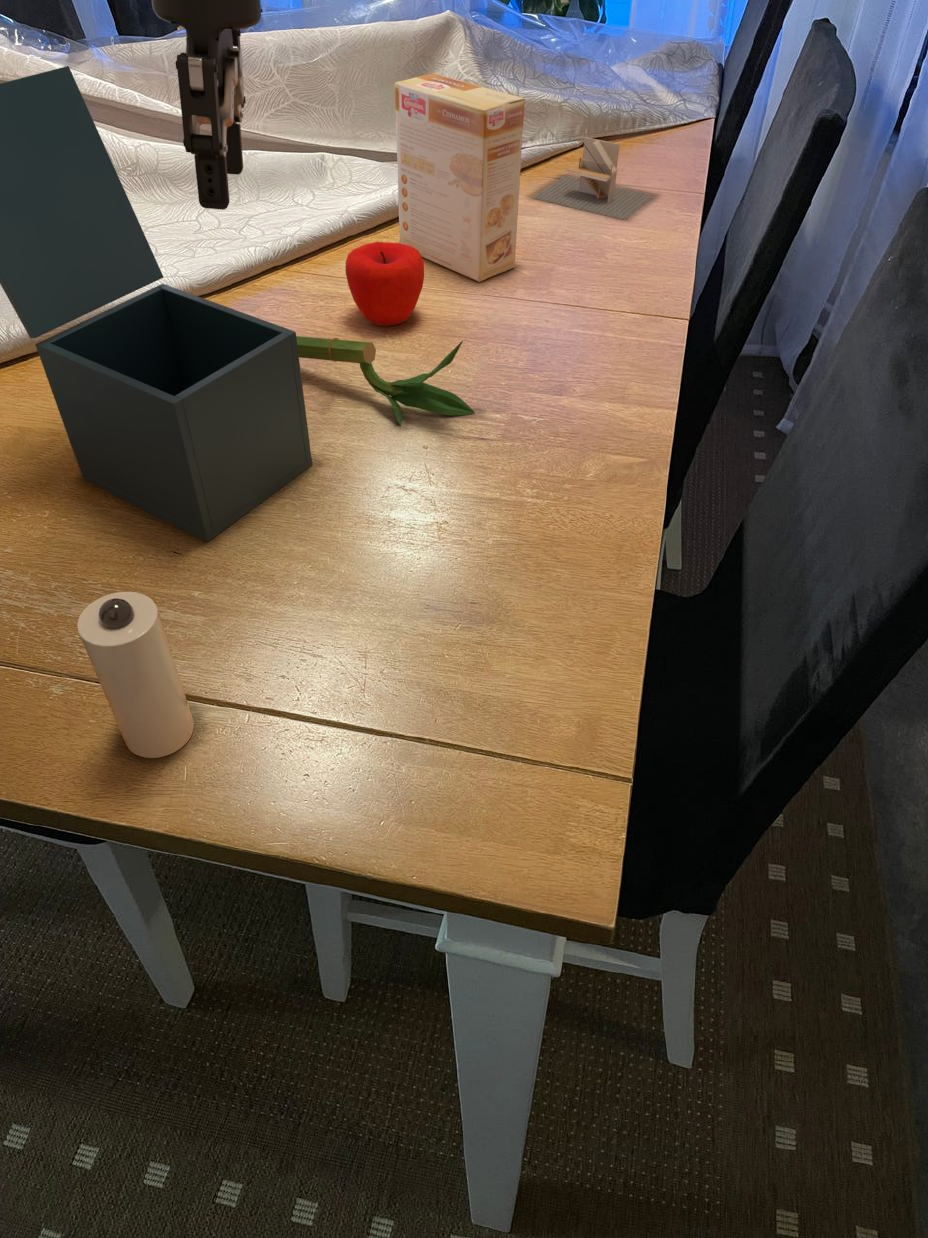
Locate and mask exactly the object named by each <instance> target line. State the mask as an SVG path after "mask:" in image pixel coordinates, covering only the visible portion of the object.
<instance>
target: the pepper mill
mask: <svg viewBox="0 0 928 1238" xmlns="http://www.w3.org/2000/svg"><path fill="white" fill-rule="evenodd" d="M159 612H160V611H159V609H158V606H157V604H156V602H155V601H154V600H153V599H152V598H150V597H149V596H147V595H146V594H143V593H141V592H137V591H118V592H117V591H116V592H112V593H109V594H106V595H103V596H101V597H98V598H97V599H95V600H93V601H92V602H91V603H89V604H88V605H87V606H86V607H85V608H84V609H83V610H82V611H81V613H80V615H79V616H78V619H77V624H76V629H77V632H78V635H79V638H80V640H81V642H82V645H83V647H84V649H85V651H86V654H87V656H88V659H89V661H90V663H91V666H92V667H93V670H94V672H95V675H96V677H97V680H98V682H99V684H100V687H101V690H102V692H103V694H104V696H105V698H106V701H107V703H108V706H109V708H110V711H111V713H112V715H113V717H114V720H115V722H116V725H117V727H118V729H119V731H120V732H119V733H120V734H121V736H122V738H123V741H124V743H125V745H126V748H127V749H128V750H129V751H130V752H131V753H133V754H134V755H136V756H138V757H140V758H146V759H158V758H164V757H166V756H170V755H172V754H174V753H176V752H177V751H179V750H180V749H182V748H183V747H184V746H185V745H186V744H187V743H188V742H189V740H190V739H191V738H192V735H193V733H194V729H195V721H194V718H193V715H192V712H191V708H190V705H189V702H188V699H187V696H186V693H185V689H184V687H183V684H182V681H181V678H180V674H179V671H178V668H177V664H176V663H175V662H176V661H175V659H174V656H173V652H172V649H171V646H170V644H169V640H168V637H167V634H166V631H165V627H164V625H163V621H162V618H161V616H160V613H159Z"/></svg>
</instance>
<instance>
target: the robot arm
mask: <svg viewBox="0 0 928 1238" xmlns="http://www.w3.org/2000/svg"><path fill="white" fill-rule="evenodd" d="M261 1H262V0H151V5H152V9H153V12H154V14H155V15H156V16H157V17H158V18H159V19H160V20H162V21H164V22H167V23H169V24H172V25H173V24H174V25H175V24H179V25H180V26H181V27H183V28H184V29H185V33H186V37H185V44H186V45H185V51H180V53H179V54H177V55H176V60H175V69H176V71H177V79H178V91H179V101H180V110H181V111H180V112H181V120H182V132H183V139H182V142H183V143H182V144H183V147H184V150H185V152H186V153H189V154H191V155H193V157H194V165H195V166H194V167H195V176H196V177H195V178H196V185H197V195H198V203H199V205H200V206H201V207H202V208H204V209H208V210H209V209H210V210H226V209H227V208H228V207H229V206H230V205H229V204H230V202H231V201H230V188H229V177H228V175H237V176H238V175H241V174H242V172H243V169H244V156H243V142H242V141H243V140H242V127H241V124H242V123H243V119H244V111H243V109H244V108H245V104H246V103H247V102H246V101H247V100H246V99H247V98H246V96H245V85H244V75H243V61H244V60H243V55H242V47H241V36H242V30H244V29H249V28H252V27H255V26H257V24H259V23H260V21H261V19H262V4H261V3H262V2H261ZM202 125H209V126H210V129H211V130H210V131H211V134H202V133H201V134H200V128H201V126H202Z"/></svg>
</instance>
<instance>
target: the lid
mask: <svg viewBox="0 0 928 1238" xmlns="http://www.w3.org/2000/svg"><path fill="white" fill-rule="evenodd" d="M85 101H86V100H85V99H84V97H83V95H82V93H81V90H80V87H79V85H78V83H77V82H76V79H75V76H74V75H73V73H72V70H71V68H70V66H69V65H66V66H62V67H59V68H53V69H50V70H47V71H43V72H39V73H36V74H35V73H34V74H31V75H27V76H23V77H19V78H16V79H11V80H8V81H5V82H4V81H3V82H0V286H1V288H2V290H3V292H4V293H5V295H6V297H7V299H8V301H9V302H10V304H11V306H12V308H13V310H14V312H15V314H16V315H17V318H18V319H19V321H20V322H21V325H22V326H23V328H24V329H25V332H26V333H27V335H28V337H29V339H37V338H39V337H41V336H43V335H45V334H48V333H50V332H52V331H54V330H56V329H58V328H60V327H62V326H64V325H67V324H69V323H70V322H73V321H75V320H77V319H78V318H81V317H83V316H85V315H87V314H89V313H91V312H94V311H96V310H98V309H100V308H103V307H105V306H107V305H109V304H111V303H113V302H115V301H117V300H119V299H122V298H124V297H125V296H128V295H130V294H132V293H134V292H136V291H138V290H141V289H143V288H145V287H147V286H149V285H151V284H153V283H155V282H157V281H159V280H161V279H163V278H164V275H163V273H162V269H161V268H160V266H159V264H158V261H157V259H156V257H155V254H154V253H153V252H154V251H153V250H152V248H151V246H150V243H149V241H148V239H147V237H146V235H145V232H144V231H143V228H142V226H141V224H140V221H139V219H138V217H137V214H136V213H135V210H134V208H133V205H132V203H131V201H130V199H129V197H128V194H127V192H126V190H125V188H124V186H123V184H122V181H121V179H120V177H119V174H118V172H117V170H116V168H115V166H114V164H113V161H112V159H111V157H110V155H109V152H108V151H107V147H106V146H105V144H104V142H103V139H102V137H101V134H100V133H99V131H98V127H97V125H96V123H95V121H94V120H93V117H92V115H91V112H90V110H89V108H88V106H87V104H86V102H85Z"/></svg>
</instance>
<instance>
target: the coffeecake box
mask: <svg viewBox="0 0 928 1238" xmlns="http://www.w3.org/2000/svg"><path fill="white" fill-rule="evenodd" d="M394 98H395V100H394V103H395V133H396V135H395V136H396V161H397V162H396V164H397V165H396V167H397V169H396V170H397V191H398V192H397V196H398V197H397V198H398V199H397V200H398V201H397V202H398V228H399V231H398V232H399V243H400V244H405V245H409V246H412V247H414V248H415V249H417V250H418V251H419V253H420V255H421V257H422V258H424V259H426V260H429V261H431V262H433V263H436V264H438V265H440V266H443V267H445V268H447V269H449V270H451V271H454V272H456V273H458V274H459V275H463V276H464V277H467V278H469V279H472V280H474V281H476V282H478V283H480V282H483V281H485V280H487V279H489V278H491V277H495V276H497V275H499V274H502V273H505V272H508V271H509V270H511V269H514V268H516V253H517V252H516V251H517V250H516V249H517V233H518V216H519V199H520V186H521V185H520V183H521V169H522V168H521V167H522V154H523V153H522V151H523V133H524V121H525V120H524V119H525V102H526V98H525V97H521V96H517V95H514V94H511V93H506V92H503V91H498V90H495V89H492V88H489V87H485V86H482V85H478V84H474V83H471V82H467V81H464V80H460V79H457V78H454V77H453V78H452V77H450V76H446V75H443V74H440V73H436V72H434V73H427V74H423V75H419V76H415V77H413V78H408V79H403V80H399V81H395V82H394Z"/></svg>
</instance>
